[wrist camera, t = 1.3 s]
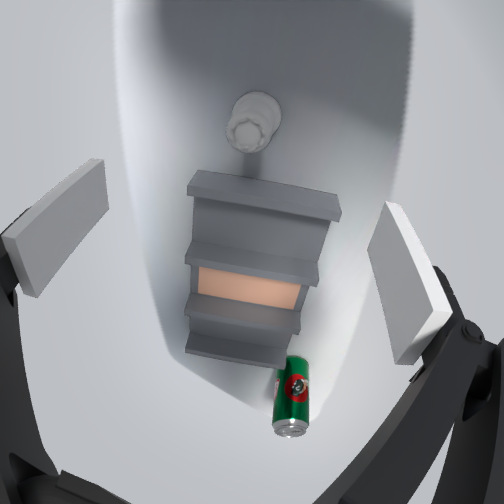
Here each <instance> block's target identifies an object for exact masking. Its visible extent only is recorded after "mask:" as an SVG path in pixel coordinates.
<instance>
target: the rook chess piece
mask: <svg viewBox="0 0 504 504" xmlns="http://www.w3.org/2000/svg"><path fill="white" fill-rule="evenodd" d="M281 117H282V113H281V108H280V105H279V104H278V103H277V101H276V100H275V99H274V98H273V97H272V96H270V95H268V94H267V93H263V92H257V91H255V92H251V93H246V94H245V95H243V96H242V97H240V98H239V99H238V100H237V102H236V103H235V105H234V107H233V109H232V117H231V118H230V120H229V122H228V123H227V128H226V135H227V138H228V141H229V143H230V144H231V145H232V146H233V148H235V149H237V150H238V151H240V152H243V153H249V154H250V153H255V152H259V151H261V150H262V149H264V148H265V147H266V146H267V145H268V143H269V142H270V140H271V136H272V134H274V133H275V131H276V130H277V128H278V127H279V125H280V123H281Z"/></svg>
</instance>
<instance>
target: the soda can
mask: <svg viewBox="0 0 504 504" xmlns="http://www.w3.org/2000/svg"><path fill="white" fill-rule="evenodd" d="M272 426H273V428H274V429H275V430H274V432H275V433H276V434H277V435H279V436H282V437H298V436H302V435H304V434H305V433H306V429H307V428H308V426H309V364H308V362H307V361H306V360H304V359H303V358H301V357H298V356H288V357H286V367H285V369H284V370H282V369H276V379H275V393H274V407H273V420H272Z"/></svg>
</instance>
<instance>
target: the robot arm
mask: <svg viewBox="0 0 504 504" xmlns="http://www.w3.org/2000/svg"><path fill="white" fill-rule="evenodd" d="M108 210H109V204H108V196H107V188H106V177H105V167H104V160H103V159H90V160H88V161H87V162H86V163H84V164H83V165H82V166H81V167H79V168H78V169H77V170H75V171H74V172H73V173H71V174H70V175H69V176H68V177H66V178H65V179H64V180H63V181H61V182H60V183H59V184H58V185H57V186H55V187H54V188H53V189H52V190H50V191H49V192H48V193H47V194H46V195H45V196H43V197H42V198H41V199H40V200H39V201H38V202H36V203H35V204H34V205H33V206H31V207H30V208H28V209H26V210H25V211H24V212H23V213H22V214H21V215H20V216H19V217H18V218H17V219H15V220H14V222H13V223H11V224H10V225H9V226H8V227H7V228H6V229H5V230H4V231H3V232H2V233H1V234H0V504H131V503H129V502H127V501H126V500H124V499H122V498H120V497H118V496H116V495H115V494H113V493H111V492H109V491H107V490H106V489H104V488H102V487H100V486H99V485H96V484H94V483H91V482H89V481H86V480H84V479H82V478H79V477H77V476H74V475H72V474H70V473H68V472H66V471H63V470H62V471H61V474H60V475H58V472H57V470H56V468H55V466H54V464H53V462H52V460H51V459H50V457H49V456H48V454H47V453H46V451H45V449H44V447H43V444H42V441H41V438H40V434H39V431H38V427H37V423H36V419H35V415H34V411H33V407H32V403H31V398H30V393H29V389H28V383H27V378H26V372H25V366H24V360H23V352H22V345H21V337H20V327H19V315H18V301H17V293H16V291H15V287H16V286H17V284H18V283H20V286H21V288H22V291H23V293H24V294H26V295H29V296H32V297H35V298H38V297H39V295H40V294H41V293H42V291H43V290H44V288H45V287H46V286H47V284H48V283H49V282H50V280H51V279H52V278H53V276H54V275H55V274H56V272H57V271H58V270H59V269H60V267H61V266H62V265H63V263H64V262H65V261H66V259H67V258H68V257H69V255H70V254H71V253H72V252H73V251H74V250H75V248H76V247H77V246H78V245H79V243H80V242H81V241H82V240H83V238H84V237H85V236H86V235H87V234H88V233H89V231H90V230H91V229H92V228H93V227H94V225H95V224H96V223H97V222H98V221H99V220H100V219H101V218H102V216H103V215H104V214H105V213H106V212H107V211H108ZM367 251H368V255H369V258H370V262H371V265H372V269H373V272H374V276H375V280H376V283H377V287H378V291H379V295H380V299H381V303H382V307H383V311H384V315H385V320H386V324H387V328H388V333H389V337H390V342H391V347H392V352H393V357H394V362H395V364H398V365H414V363H415V362H416V361H417V360H418V358H419V357H420V356H421V355H422V359H423V363H424V364H423V365H422V367H421V368H420V369H419V370H418V371H417V372H416V373H415V375H414V376H413V377H412V378H411V379H410V380H409V381H410V382H411V383H410V385H409V386H408V388H407V389H406V391H405V392H404V394H403V395H402V397H401V398H400V400H399V401H398V402H397V404H396V405H395V407H394V408H393V410H392V411H391V413H390V414H389V415H388V417H387V418H386V419H385V421H384V422H383V424H382V425H381V426H380V427H379V429H378V430H377V431H376V433H375V434H374V435H373V436H372V438H371V439H370V440H369V442H368V443H367V444H366V445H365V447H364V448H363V449H362V450H361V452H360V453H359V454H358V455H357V456H356V457H355V459H354V460H353V461H352V462H351V463H350V464H349V465H348V467H347V468H346V469H345V470H344V471H343V472H342V473H341V474H340V476H339V477H338V478H337V479H336V480H335V481H334V482H333V483H332V484H331V485H330V486H329V487H328V488H327V489H326V491H325V492H324V493H323V494H322V495H321V496H320V497H319V498H318V499H317V500H316V501H315V502H314V503H313V504H407V503H408V502H409V500H410V499H411V497H412V496H413V494H414V493H415V491H416V490H417V488H418V486H419V485H420V483H421V482H422V480H423V479H424V477H425V475H426V474H427V472H428V470H429V469H430V467H431V465H432V463H433V462H434V460H435V458H436V456H437V455H438V453H439V451H440V449H441V447H442V445H443V443H444V442H445V440H446V438H447V436H448V434H449V432H450V430H451V428H452V426H453V424H454V427H453V431H452V436H451V440H450V444H449V448H448V452H447V456H446V459H445V463H444V466H443V470H442V473H441V477H440V480H439V483H438V486H437V489H436V492H435V495H434V498H433V501H432V503H431V504H504V338H503V339H502V340H501V342H500V343H499V344H498V345H496V344H493V343H491V342H489V341H486V340H485V338H484V335H483V332H482V331H481V329H480V328H479V327H478V326H477V325H476V324H475V323H473V322H471V321H470V320H466V319H465V318H464V315H463V313H462V311H461V308H460V306H459V304H458V301H457V299H456V297H455V295H453V290H452V288H451V287H450V284H449V282H448V280H447V278H446V276H445V275H444V273H443V272H442V271H441V270H440V269H439V268H438V267H437V266H432V265H431V263H430V260H429V258H428V256H427V254H426V252H425V250H424V248H423V246H422V244H421V243H420V240H419V238H418V237H417V235H416V233H415V231H414V229H413V227H412V225H411V223H410V222H409V220H408V218H407V216H406V214H405V213H404V211H403V209H402V207H401V206H400V205H399V204H395V203H391V202H387V201H385V204H384V206H383V209H382V212H381V215H380V218H379V220H378V223H377V226H376V228H375V231H374V234H373V236H372V239H371V241H370V244H369V247H368V249H367ZM454 421H455V422H454Z"/></svg>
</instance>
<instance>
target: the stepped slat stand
mask: <svg viewBox="0 0 504 504" xmlns="http://www.w3.org/2000/svg"><path fill="white" fill-rule="evenodd" d="M187 195H189V196H194V211H193V231H192V242H191V244H190V246H189V248H188V250H187V253H186V255H185V264H188V265H191V291H190V295H189V298H188V301H187V304H186V307H185V315H187V316H190V334H189V337H188V341H187V344H186V347H185V353H190V354H194V355H199V356H204V357H209V358H214V359H220V360H225V361H231V362H236V363H242V364H248V365H255V366H261V367H268V368H275V369H282V370H284V369H285V367H286V349H287V346H288V344H289V341H290V338H291V336H292V334H296V335H299V332H300V311H301V308H302V306H303V303H304V300H305V297H306V294H307V291H308V289H309V286H314V287H317V284H318V282H319V273H318V263H317V262H318V259H319V256H320V253H321V250H322V247H323V244H324V241H325V237H326V234H327V231H328V228H329V225H330V221H336V222H339V220H340V217H341V214H342V211H341V208H340V205H339V201H338V198H337V195H335V194H331V193H326V192H321V191H316V190H311V189H306V188H301V187H296V186H291V185H286V184H280V183H275V182H269V181H264V180H258V179H252V178H246V177H240V176H234V175H228V174H221V173H215V172H208V171H201V170H198V171H197V172H196V174H195V175H194V176H193V178H192V179H191V181H190V182H189V184H188V185H187Z"/></svg>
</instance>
